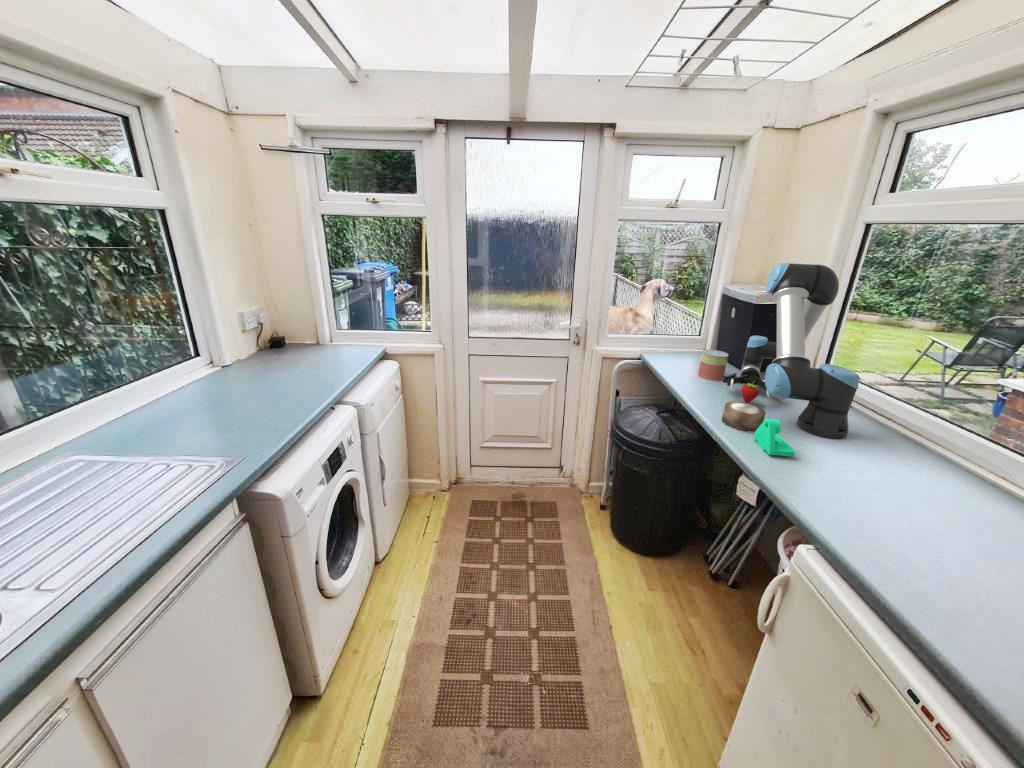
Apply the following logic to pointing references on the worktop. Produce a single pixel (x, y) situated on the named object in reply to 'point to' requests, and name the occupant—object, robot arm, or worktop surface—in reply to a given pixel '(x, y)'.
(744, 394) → the strawberry
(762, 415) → the bronze puck
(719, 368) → the canned food
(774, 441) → the camera mount
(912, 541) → the worktop surface
